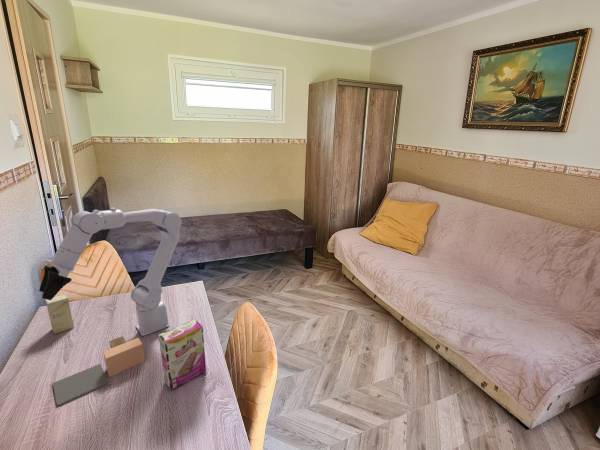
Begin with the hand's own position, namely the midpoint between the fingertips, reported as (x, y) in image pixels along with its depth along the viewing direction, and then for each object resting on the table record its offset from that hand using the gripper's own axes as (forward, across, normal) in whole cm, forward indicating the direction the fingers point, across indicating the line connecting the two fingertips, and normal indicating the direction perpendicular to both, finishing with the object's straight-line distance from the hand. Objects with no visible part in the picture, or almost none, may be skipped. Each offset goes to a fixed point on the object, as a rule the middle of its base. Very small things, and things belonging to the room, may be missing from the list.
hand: (44, 295), depth 90 cm
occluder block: (+13, +6, +28) cm, 31 cm away
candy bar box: (+8, +23, +38) cm, 46 cm away
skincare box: (+16, -29, +16) cm, 37 cm away
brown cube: (+12, -2, +27) cm, 30 cm away
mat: (+20, +6, +18) cm, 28 cm away
